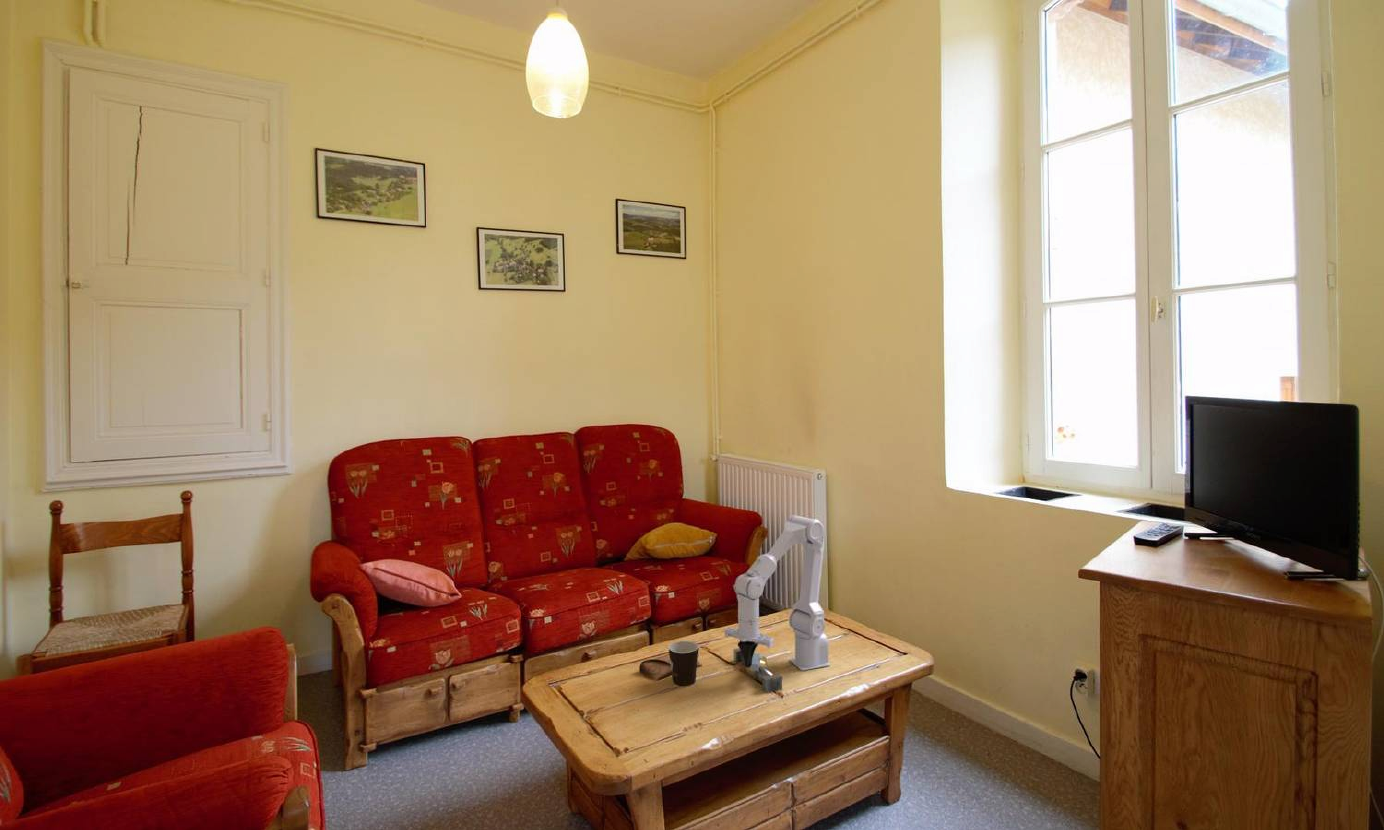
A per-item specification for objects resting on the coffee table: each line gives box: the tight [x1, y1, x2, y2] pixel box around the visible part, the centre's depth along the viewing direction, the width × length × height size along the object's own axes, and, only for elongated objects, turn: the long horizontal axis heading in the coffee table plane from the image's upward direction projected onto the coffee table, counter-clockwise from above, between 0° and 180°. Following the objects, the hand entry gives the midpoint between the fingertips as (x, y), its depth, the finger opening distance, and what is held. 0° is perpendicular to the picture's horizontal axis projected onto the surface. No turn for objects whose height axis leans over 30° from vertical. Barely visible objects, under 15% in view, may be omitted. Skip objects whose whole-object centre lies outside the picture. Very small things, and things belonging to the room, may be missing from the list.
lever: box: [752, 652, 763, 671], centre depth 190 cm, size 10×3×2 cm, turn 171°
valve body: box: [733, 647, 783, 694], centre depth 193 cm, size 22×6×4 cm, turn 20°
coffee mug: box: [667, 640, 700, 688], centre depth 191 cm, size 12×9×10 cm
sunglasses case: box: [638, 653, 703, 682], centre depth 198 cm, size 18×7×7 cm, turn 127°
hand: (748, 666), depth 187 cm, fingers closed, pressing on lever
